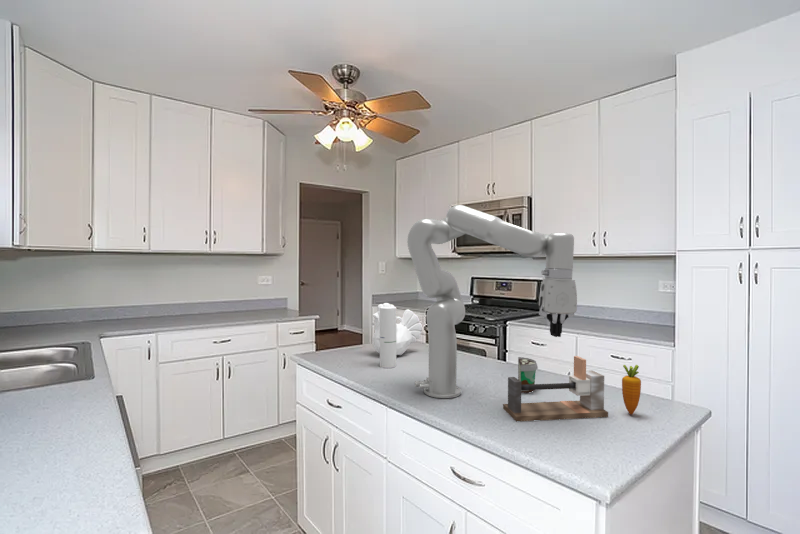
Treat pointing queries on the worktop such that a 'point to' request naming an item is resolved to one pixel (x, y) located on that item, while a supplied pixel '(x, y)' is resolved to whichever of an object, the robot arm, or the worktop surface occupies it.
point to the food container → (526, 372)
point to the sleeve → (580, 378)
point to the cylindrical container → (388, 336)
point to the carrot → (631, 389)
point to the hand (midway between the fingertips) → (555, 335)
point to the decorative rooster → (399, 330)
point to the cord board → (556, 410)
